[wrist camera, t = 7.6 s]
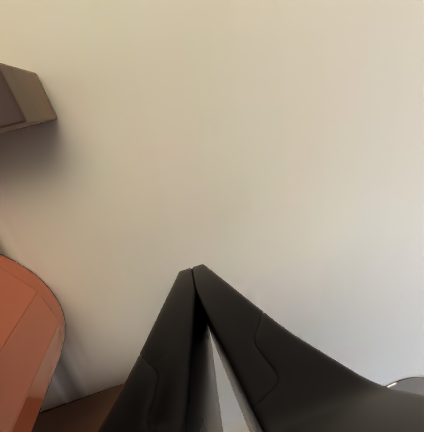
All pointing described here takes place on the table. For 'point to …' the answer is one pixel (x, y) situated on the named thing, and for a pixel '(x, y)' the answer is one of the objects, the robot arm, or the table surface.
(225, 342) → the robot arm
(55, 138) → the table surface
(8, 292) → the cup
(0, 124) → the cup stop
